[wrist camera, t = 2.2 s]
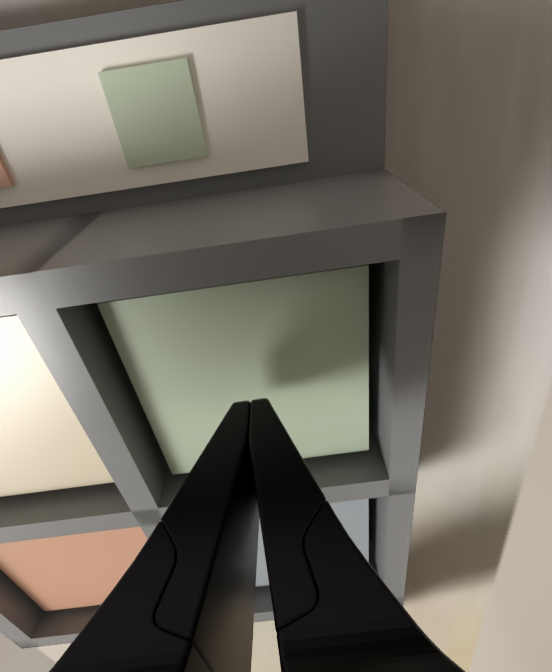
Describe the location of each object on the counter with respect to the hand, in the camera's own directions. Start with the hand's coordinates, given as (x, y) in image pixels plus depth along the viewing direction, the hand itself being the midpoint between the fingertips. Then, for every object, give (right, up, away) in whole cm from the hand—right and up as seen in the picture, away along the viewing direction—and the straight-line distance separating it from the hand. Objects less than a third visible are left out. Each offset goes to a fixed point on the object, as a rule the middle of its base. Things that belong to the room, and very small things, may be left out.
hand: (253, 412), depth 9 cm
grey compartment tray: (-4, +1, +6) cm, 7 cm away
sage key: (0, +1, +2) cm, 2 cm away
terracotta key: (-7, -6, +6) cm, 11 cm away
